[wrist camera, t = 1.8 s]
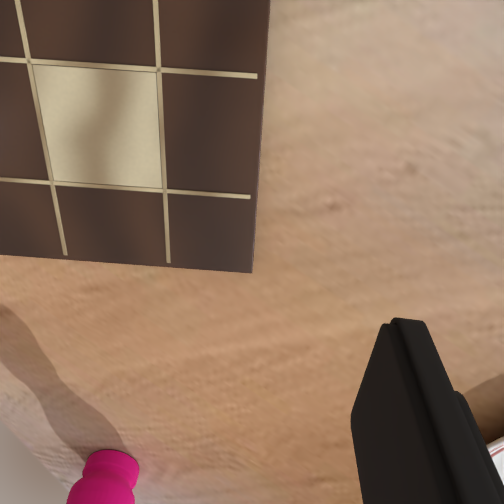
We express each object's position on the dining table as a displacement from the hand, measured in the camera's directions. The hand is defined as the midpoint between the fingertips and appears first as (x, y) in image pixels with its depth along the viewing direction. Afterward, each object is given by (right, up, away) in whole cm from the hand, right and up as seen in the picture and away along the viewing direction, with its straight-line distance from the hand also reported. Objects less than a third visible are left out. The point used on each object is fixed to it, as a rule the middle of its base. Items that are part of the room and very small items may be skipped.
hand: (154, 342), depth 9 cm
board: (-8, +11, +23) cm, 27 cm away
